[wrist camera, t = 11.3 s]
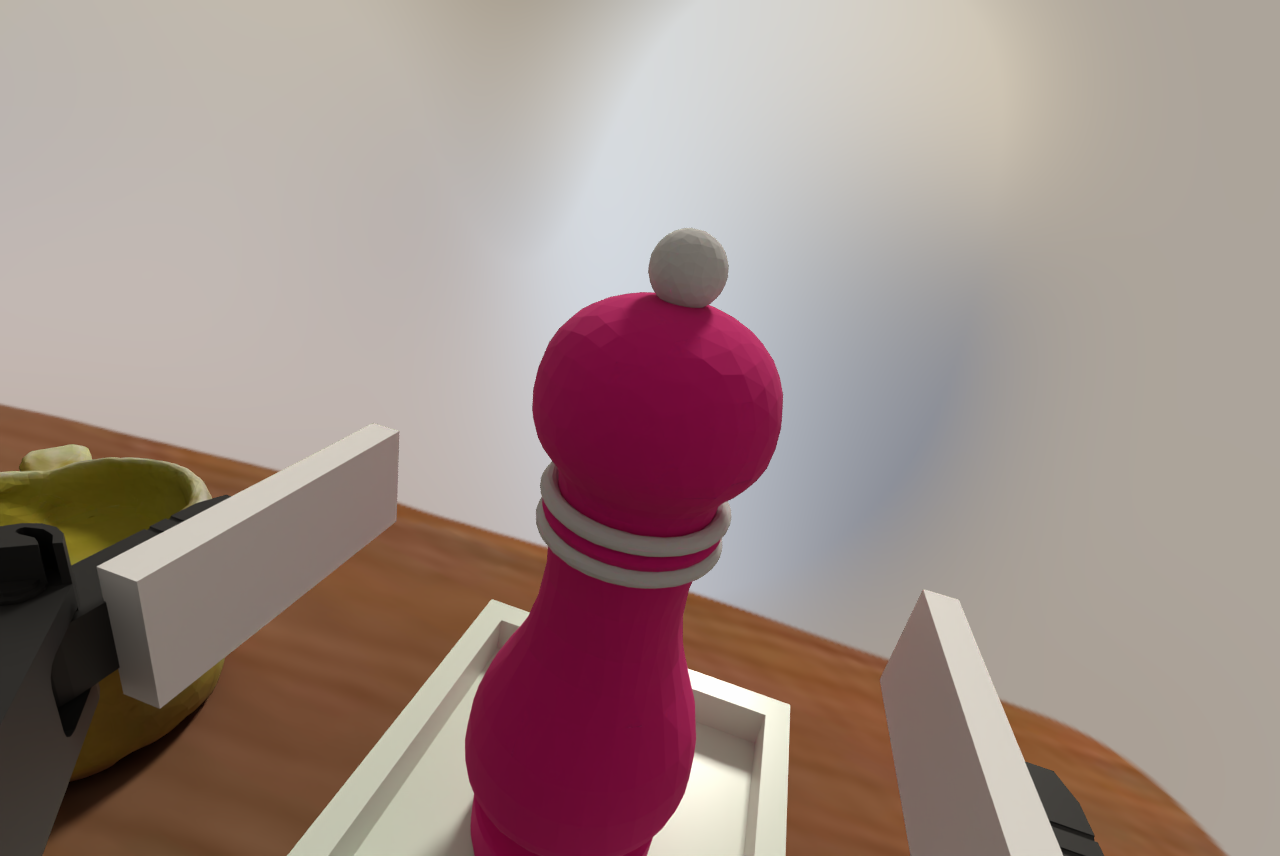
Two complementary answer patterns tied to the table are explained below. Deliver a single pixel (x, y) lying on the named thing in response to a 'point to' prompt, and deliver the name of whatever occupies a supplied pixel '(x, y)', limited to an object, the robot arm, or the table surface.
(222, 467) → the table surface
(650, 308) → the pepper mill
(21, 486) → the mug
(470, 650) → the tray
